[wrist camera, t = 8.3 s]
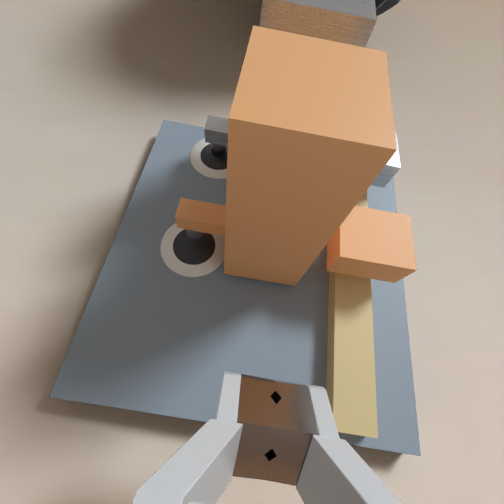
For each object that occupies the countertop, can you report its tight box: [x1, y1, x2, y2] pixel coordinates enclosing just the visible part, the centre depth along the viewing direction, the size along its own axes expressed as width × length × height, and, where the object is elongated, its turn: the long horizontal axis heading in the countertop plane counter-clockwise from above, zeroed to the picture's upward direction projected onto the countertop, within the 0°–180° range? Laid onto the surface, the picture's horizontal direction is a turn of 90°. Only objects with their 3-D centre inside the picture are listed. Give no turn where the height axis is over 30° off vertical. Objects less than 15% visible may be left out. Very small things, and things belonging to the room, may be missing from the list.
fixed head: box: [204, 0, 401, 188], centre depth 15 cm, size 12×4×10 cm, turn 82°
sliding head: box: [175, 25, 417, 286], centre depth 12 cm, size 12×4×10 cm, turn 82°
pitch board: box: [49, 120, 421, 456], centre depth 17 cm, size 17×18×2 cm
